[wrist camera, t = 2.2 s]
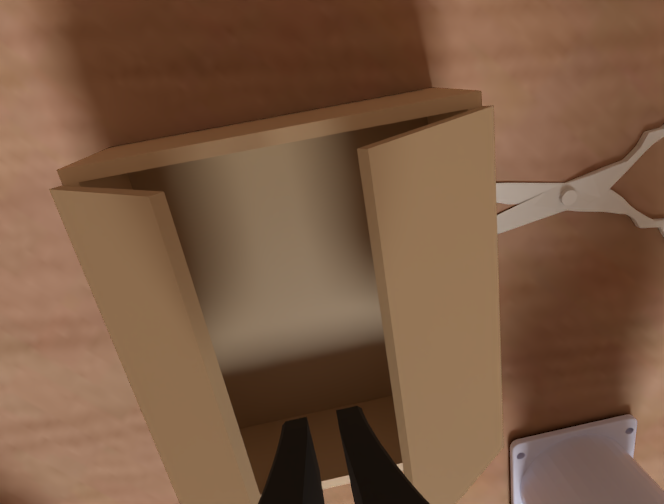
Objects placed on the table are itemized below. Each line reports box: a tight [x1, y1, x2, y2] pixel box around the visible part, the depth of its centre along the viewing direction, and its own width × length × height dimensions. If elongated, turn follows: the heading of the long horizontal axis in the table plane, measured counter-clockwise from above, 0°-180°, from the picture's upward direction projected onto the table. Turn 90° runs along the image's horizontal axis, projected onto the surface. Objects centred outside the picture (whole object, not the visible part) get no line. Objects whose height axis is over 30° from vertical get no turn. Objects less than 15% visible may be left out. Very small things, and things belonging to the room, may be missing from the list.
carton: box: [57, 88, 482, 496], centre depth 20 cm, size 16×14×5 cm
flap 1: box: [49, 186, 261, 504], centre depth 15 cm, size 15×6×1 cm
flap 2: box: [357, 106, 504, 504], centre depth 16 cm, size 15×6×1 cm
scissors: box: [496, 124, 664, 238], centre depth 22 cm, size 11×1×20 cm
